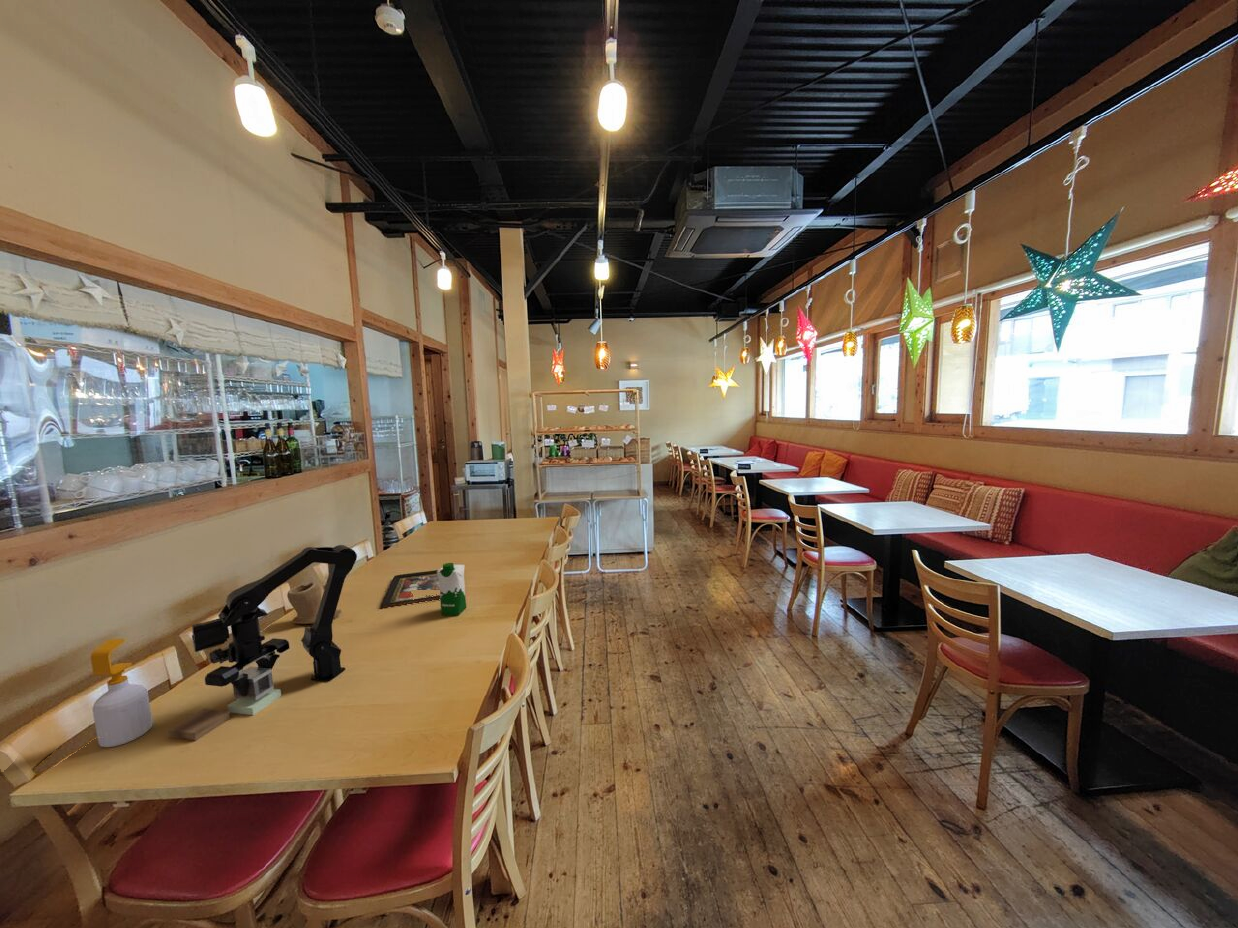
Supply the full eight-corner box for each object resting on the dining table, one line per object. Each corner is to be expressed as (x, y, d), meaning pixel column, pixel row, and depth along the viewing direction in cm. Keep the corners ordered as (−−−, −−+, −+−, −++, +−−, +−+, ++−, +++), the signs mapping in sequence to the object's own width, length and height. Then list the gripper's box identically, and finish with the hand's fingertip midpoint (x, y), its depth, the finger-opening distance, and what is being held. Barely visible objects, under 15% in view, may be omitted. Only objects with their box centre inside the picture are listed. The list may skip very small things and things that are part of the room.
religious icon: (384, 581, 211) (384, 575, 211) (462, 569, 226) (462, 563, 226) (380, 614, 177) (379, 607, 177) (472, 597, 192) (471, 591, 192)
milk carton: (438, 616, 172) (434, 566, 170) (449, 606, 181) (445, 558, 179) (459, 616, 171) (456, 566, 169) (469, 606, 180) (466, 558, 178)
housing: (273, 688, 124) (271, 668, 123) (256, 700, 119) (253, 679, 118) (252, 686, 125) (250, 666, 124) (234, 697, 120) (231, 677, 119)
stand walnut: (229, 718, 116) (228, 711, 116) (195, 740, 109) (194, 733, 108) (204, 715, 118) (203, 708, 118) (169, 737, 110) (168, 729, 110)
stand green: (281, 695, 125) (280, 689, 125) (253, 715, 117) (252, 708, 117) (257, 693, 127) (256, 686, 126) (228, 712, 119) (227, 705, 119)
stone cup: (282, 628, 166) (278, 589, 164) (308, 613, 178) (304, 577, 176) (319, 629, 164) (314, 590, 162) (343, 615, 176) (339, 578, 174)
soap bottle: (163, 721, 116) (148, 632, 113) (125, 747, 107) (109, 651, 104) (127, 723, 116) (112, 633, 113) (87, 749, 107) (69, 653, 104)
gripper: (255, 618, 130) (262, 668, 132) (183, 652, 112) (192, 709, 114) (287, 620, 128) (294, 671, 130) (219, 655, 110) (227, 713, 112)
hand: (254, 689), depth 122 cm, fingers closed on housing, 5 cm apart
